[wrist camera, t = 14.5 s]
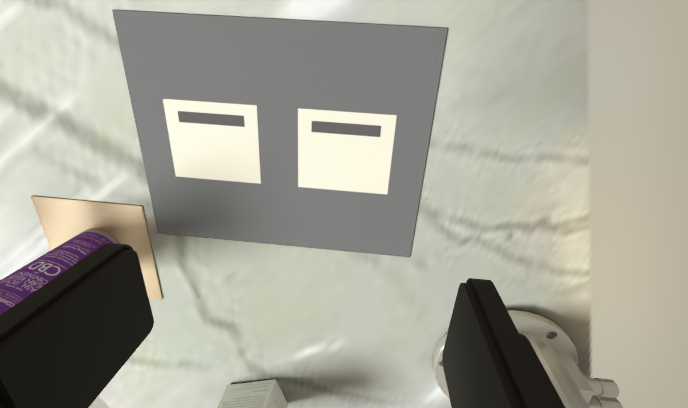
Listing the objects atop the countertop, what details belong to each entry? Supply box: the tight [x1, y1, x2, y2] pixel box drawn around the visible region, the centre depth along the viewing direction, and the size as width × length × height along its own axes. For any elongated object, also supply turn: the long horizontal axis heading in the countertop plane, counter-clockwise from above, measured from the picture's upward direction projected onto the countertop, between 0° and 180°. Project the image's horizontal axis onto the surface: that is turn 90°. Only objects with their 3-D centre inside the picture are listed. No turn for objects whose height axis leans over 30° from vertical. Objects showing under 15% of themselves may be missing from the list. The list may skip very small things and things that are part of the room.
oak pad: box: [31, 196, 163, 299], centre depth 30 cm, size 10×10×1 cm
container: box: [0, 229, 120, 315], centre depth 23 cm, size 5×5×15 cm
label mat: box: [112, 10, 448, 257], centre depth 25 cm, size 22×17×1 cm
